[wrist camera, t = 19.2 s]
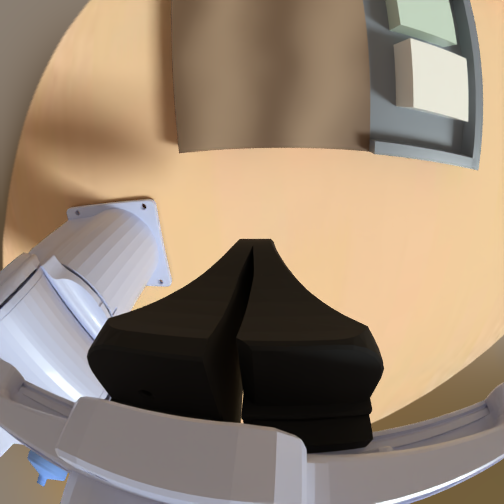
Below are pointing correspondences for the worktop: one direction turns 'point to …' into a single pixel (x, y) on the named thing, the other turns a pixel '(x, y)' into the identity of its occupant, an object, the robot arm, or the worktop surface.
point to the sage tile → (423, 20)
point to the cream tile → (431, 80)
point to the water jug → (45, 469)
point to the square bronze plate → (270, 74)
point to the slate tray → (416, 122)
